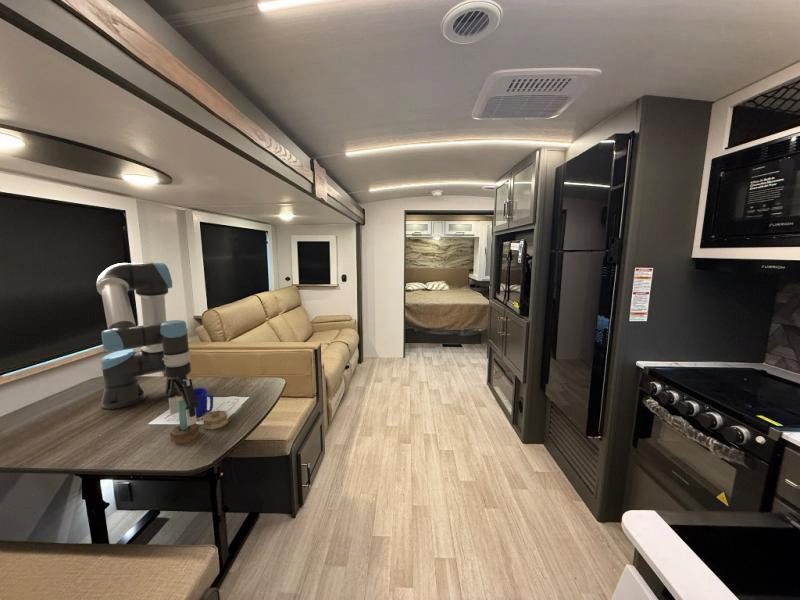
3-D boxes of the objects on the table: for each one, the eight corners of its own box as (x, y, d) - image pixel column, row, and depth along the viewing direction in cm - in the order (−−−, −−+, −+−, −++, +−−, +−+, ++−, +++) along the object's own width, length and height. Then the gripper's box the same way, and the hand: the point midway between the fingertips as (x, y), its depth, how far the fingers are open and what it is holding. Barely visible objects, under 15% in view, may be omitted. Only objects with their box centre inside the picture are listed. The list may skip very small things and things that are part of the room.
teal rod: (180, 437, 115) (175, 396, 113) (187, 434, 117) (183, 393, 115) (183, 439, 114) (178, 398, 111) (190, 436, 116) (186, 395, 113)
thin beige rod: (174, 429, 120) (174, 428, 120) (173, 429, 121) (173, 427, 120) (213, 414, 132) (213, 412, 132) (212, 413, 133) (212, 411, 132)
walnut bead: (168, 438, 114) (167, 430, 114) (191, 428, 121) (191, 420, 120) (178, 446, 110) (177, 436, 110) (202, 435, 117) (201, 426, 116)
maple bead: (199, 428, 121) (198, 419, 121) (214, 417, 129) (213, 409, 129) (217, 430, 120) (216, 421, 120) (231, 419, 128) (231, 411, 127)
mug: (206, 421, 126) (203, 398, 125) (181, 418, 129) (178, 395, 127) (221, 411, 134) (219, 389, 133) (197, 408, 137) (195, 387, 135)
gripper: (150, 359, 115) (156, 413, 118) (181, 374, 102) (188, 434, 105) (173, 354, 121) (179, 405, 124) (206, 367, 108) (211, 424, 111)
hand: (183, 418), depth 115 cm, fingers open, 13 cm apart
